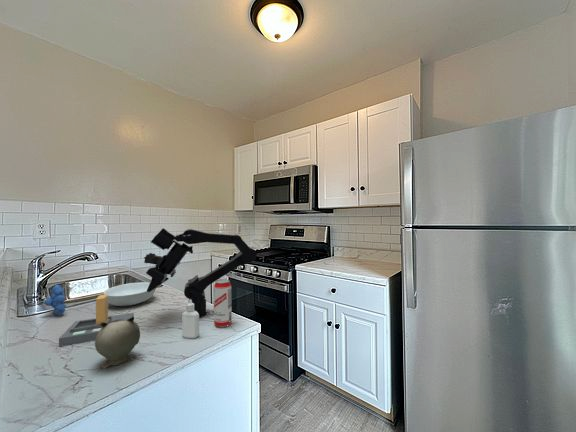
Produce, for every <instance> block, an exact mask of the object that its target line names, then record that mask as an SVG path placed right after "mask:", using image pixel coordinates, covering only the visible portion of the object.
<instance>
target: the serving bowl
mask: <svg viewBox="0 0 576 432" xmlns="http://www.w3.org/2000/svg"><path fill="white" fill-rule="evenodd" d="M149 284H150V282H148V281H147V282H145V281H143V282H141V281H140V282H129V283H124V284H119V285H115V286H113V287H109V288H107V289H106V290H104V291H103V293H102V295H105V294H108V305H112V306H117V307H129V306H135V305H139V304H141V303H144V302H146V301H148V300H149V299H151V298H152V297H153V296H154V294H155V292H156V290H157V287H156V288H155V289H153V290H152V291H150V292H147V289H148V286H149Z"/></svg>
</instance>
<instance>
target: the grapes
mask: <svg viewBox="0 0 576 432" xmlns="http://www.w3.org/2000/svg"><path fill="white" fill-rule="evenodd" d="M50 293H51V296H50V297H49V298H46V299H45V301H44V302H43V304H44V305H46V306H48V307H50V308H53V310H52V312H53V313H54V314H55V315H57V316H62V315H63V314H64V313H65V311H66V309H65V308H66V307H67V305H66V304H65V301H66V299H67V297H66V296H65V295H64V293H65V290H64V289H63V286H62V285H59V284H56V285H54V286H53V287H52V289H50Z"/></svg>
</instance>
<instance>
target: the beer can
mask: <svg viewBox="0 0 576 432" xmlns="http://www.w3.org/2000/svg"><path fill="white" fill-rule="evenodd" d="M232 309H233V308H232V284H231V282H230V279H227V278H226V279H223V278H222V279H218V280H216V281H215V282H214V285H213V324H214V325H215V327H217V326H218V327H217V328H225V327H224V326H227V325H229V324H230V325H231V324H232V321H233V320H232V317H233V315H232V313H233V312H232V311H233V310H232ZM230 325H229V326H230ZM227 327H228V326H227Z"/></svg>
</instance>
